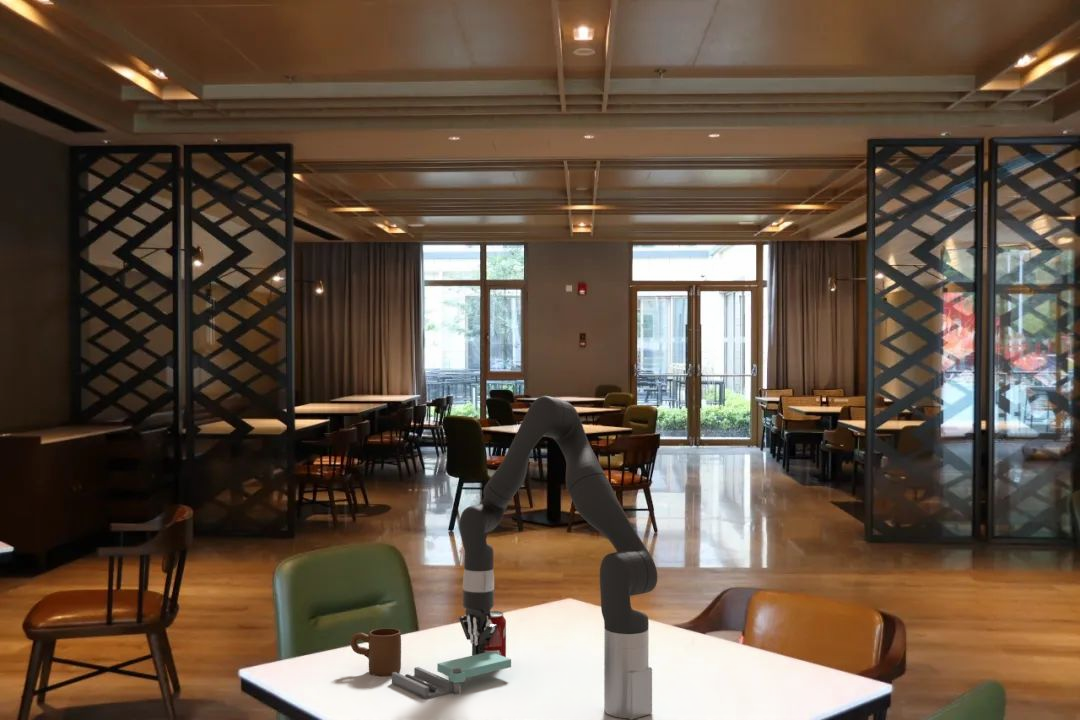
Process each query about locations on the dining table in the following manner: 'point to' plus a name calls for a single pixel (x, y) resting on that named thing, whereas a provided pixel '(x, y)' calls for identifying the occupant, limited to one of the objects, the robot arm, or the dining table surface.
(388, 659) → the mug
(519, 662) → the dining table surface
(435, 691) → the grey rail
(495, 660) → the cover
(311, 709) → the dining table surface
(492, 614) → the soda can
